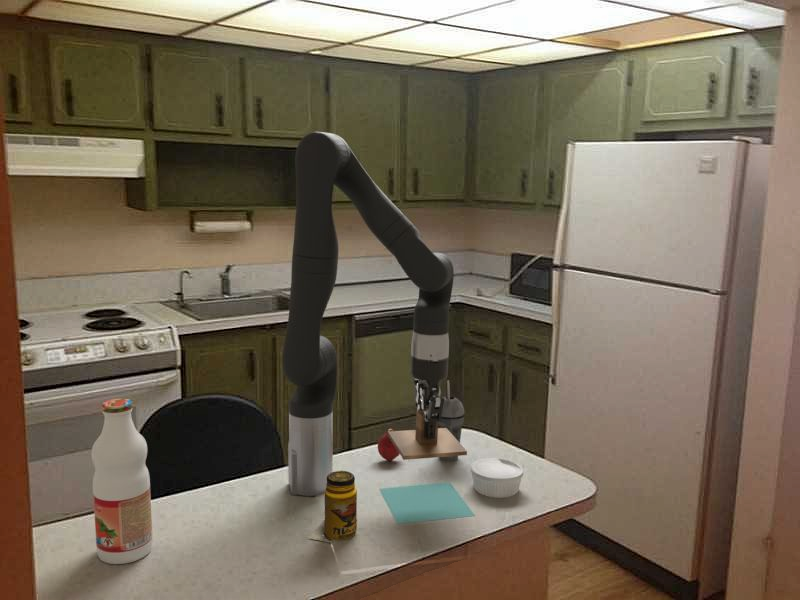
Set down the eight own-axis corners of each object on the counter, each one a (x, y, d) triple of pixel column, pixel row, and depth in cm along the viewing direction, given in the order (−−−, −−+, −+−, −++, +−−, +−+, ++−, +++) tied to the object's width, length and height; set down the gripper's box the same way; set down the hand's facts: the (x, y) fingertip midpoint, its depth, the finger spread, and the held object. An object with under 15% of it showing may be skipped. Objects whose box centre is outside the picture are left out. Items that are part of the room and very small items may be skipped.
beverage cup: (468, 458, 173) (471, 378, 170) (454, 468, 167) (457, 385, 163) (442, 451, 177) (444, 373, 173) (427, 461, 171) (429, 380, 167)
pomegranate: (398, 467, 167) (399, 434, 166) (374, 464, 168) (375, 432, 167) (403, 457, 173) (404, 426, 171) (380, 455, 174) (380, 424, 172)
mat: (397, 526, 139) (397, 524, 139) (379, 490, 155) (379, 488, 155) (475, 517, 143) (475, 515, 143) (449, 484, 159) (449, 481, 159)
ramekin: (532, 490, 156) (533, 467, 156) (502, 507, 148) (503, 483, 147) (490, 475, 164) (491, 453, 163) (459, 490, 156) (460, 467, 155)
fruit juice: (151, 562, 125) (143, 409, 120) (93, 568, 123) (83, 413, 118) (155, 535, 134) (148, 392, 129) (101, 541, 132) (92, 395, 127)
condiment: (350, 547, 132) (350, 485, 130) (308, 539, 134) (307, 479, 132) (364, 528, 139) (364, 470, 136) (323, 521, 141) (323, 464, 139)
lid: (403, 459, 139) (404, 426, 138) (387, 435, 151) (388, 404, 150) (466, 455, 142) (468, 422, 141) (446, 431, 155) (447, 401, 153)
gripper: (402, 345, 149) (399, 423, 152) (421, 363, 136) (418, 449, 139) (437, 344, 151) (433, 421, 154) (459, 362, 137) (455, 447, 141)
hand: (426, 434), depth 146 cm, fingers closed on lid, 3 cm apart
